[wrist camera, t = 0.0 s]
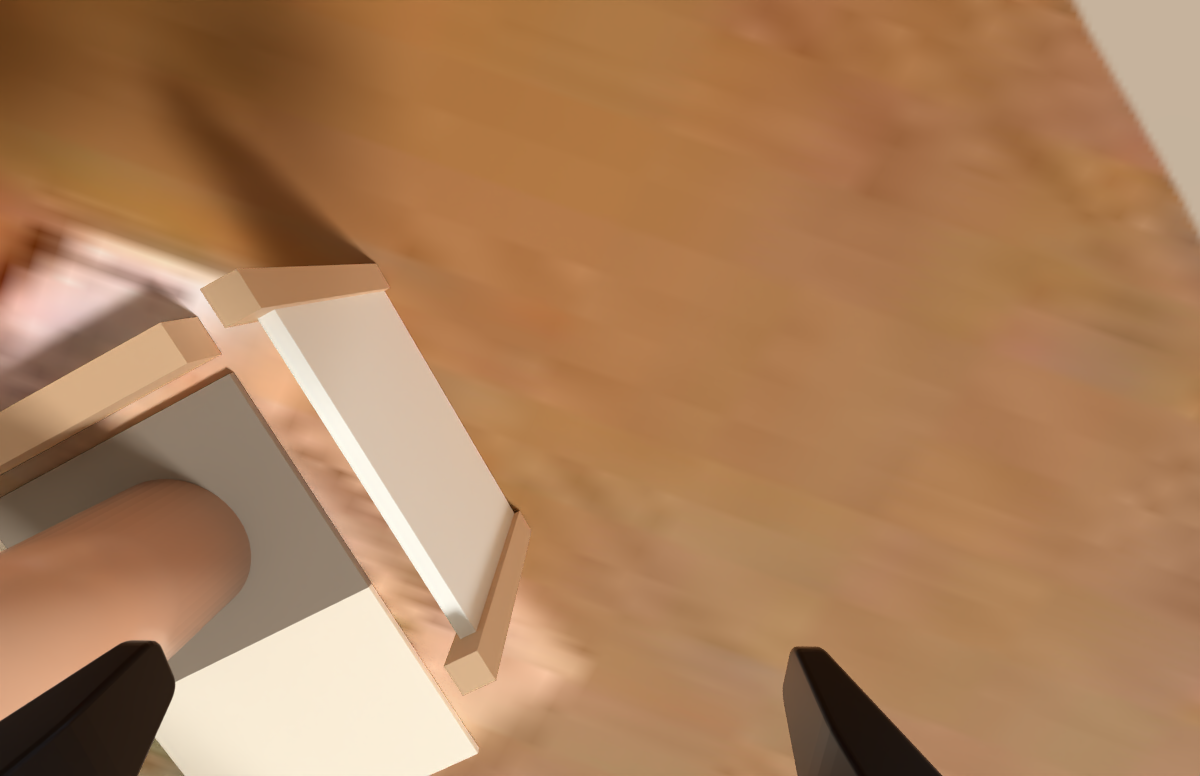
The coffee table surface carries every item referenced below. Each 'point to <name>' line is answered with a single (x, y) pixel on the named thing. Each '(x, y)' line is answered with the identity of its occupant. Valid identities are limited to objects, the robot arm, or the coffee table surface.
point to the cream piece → (298, 528)
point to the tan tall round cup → (116, 582)
